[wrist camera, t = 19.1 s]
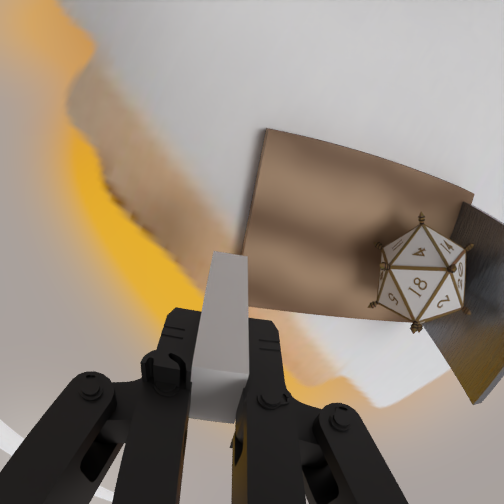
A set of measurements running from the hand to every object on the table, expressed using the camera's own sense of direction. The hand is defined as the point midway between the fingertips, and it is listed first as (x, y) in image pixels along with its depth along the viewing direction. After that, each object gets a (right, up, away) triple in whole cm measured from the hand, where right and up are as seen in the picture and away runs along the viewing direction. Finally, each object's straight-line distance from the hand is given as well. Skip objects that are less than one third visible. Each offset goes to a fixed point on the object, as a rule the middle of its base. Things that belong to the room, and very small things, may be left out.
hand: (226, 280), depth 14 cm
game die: (+14, +1, +10) cm, 17 cm away
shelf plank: (+10, +3, +11) cm, 15 cm away
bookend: (+19, 0, +10) cm, 22 cm away
